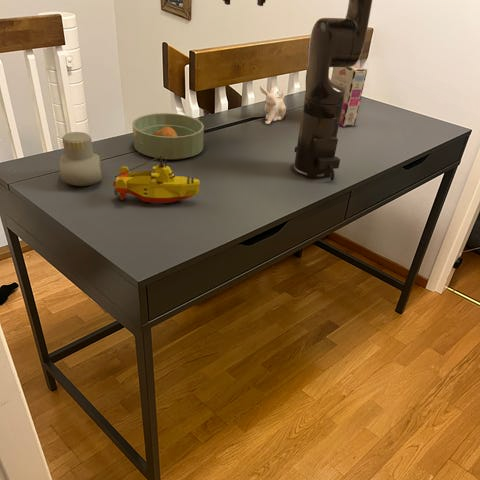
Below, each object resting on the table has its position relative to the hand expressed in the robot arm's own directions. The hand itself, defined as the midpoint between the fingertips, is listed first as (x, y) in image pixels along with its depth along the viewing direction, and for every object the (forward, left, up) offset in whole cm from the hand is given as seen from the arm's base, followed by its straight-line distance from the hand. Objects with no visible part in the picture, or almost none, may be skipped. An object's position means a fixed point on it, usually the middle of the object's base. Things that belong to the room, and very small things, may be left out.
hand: (243, 4), depth 113 cm
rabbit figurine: (+16, -18, -32) cm, 40 cm away
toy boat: (-32, +30, -32) cm, 54 cm away
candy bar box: (+10, -40, -32) cm, 52 cm away
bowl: (-3, +20, -32) cm, 38 cm away
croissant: (-3, +20, -31) cm, 37 cm away
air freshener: (-19, +44, -32) cm, 58 cm away
